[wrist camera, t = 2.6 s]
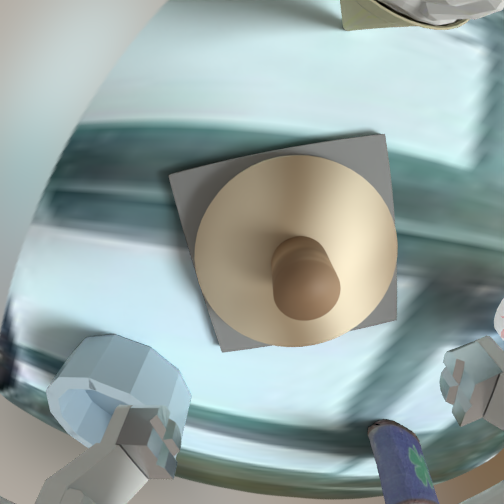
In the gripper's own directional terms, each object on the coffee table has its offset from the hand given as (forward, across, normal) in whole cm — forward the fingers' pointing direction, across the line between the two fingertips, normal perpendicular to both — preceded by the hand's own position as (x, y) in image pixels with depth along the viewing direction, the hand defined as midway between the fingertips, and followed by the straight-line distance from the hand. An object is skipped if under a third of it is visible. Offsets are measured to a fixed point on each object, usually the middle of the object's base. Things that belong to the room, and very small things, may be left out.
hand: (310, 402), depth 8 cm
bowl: (+11, +13, +8) cm, 19 cm away
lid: (+10, -1, -1) cm, 10 cm away
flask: (+11, -8, +20) cm, 24 cm away
